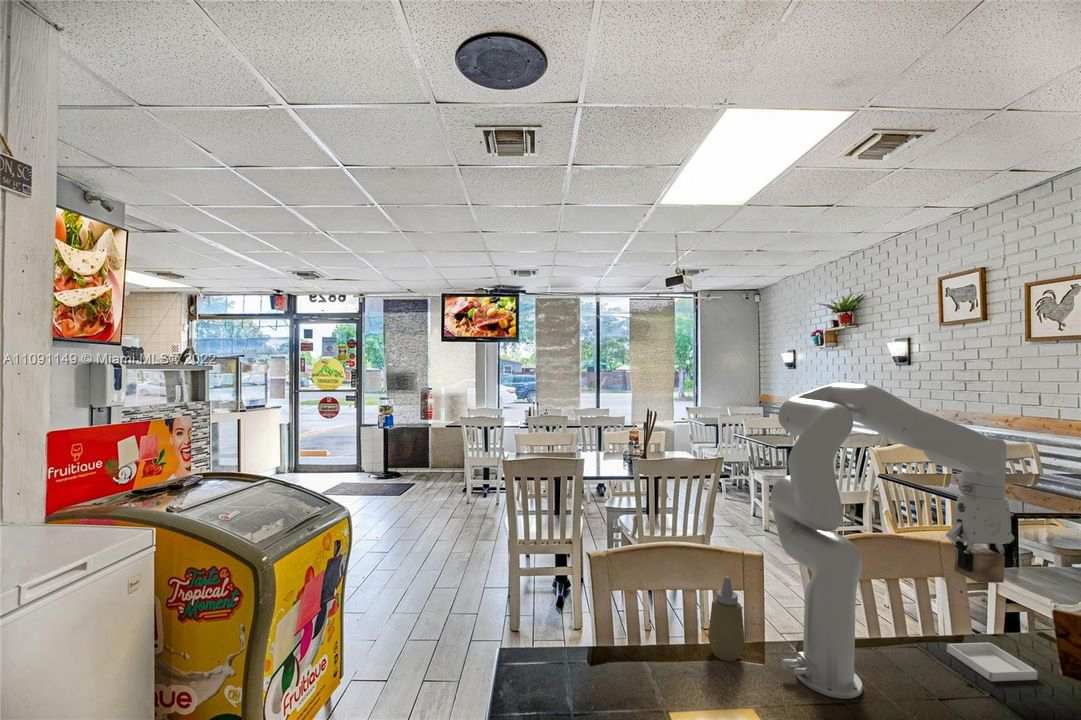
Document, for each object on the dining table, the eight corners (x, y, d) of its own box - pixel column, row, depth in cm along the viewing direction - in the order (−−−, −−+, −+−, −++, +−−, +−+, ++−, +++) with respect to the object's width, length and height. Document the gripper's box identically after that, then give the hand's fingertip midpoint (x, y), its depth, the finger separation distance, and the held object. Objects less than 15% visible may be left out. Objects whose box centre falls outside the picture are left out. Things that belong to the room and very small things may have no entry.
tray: (990, 683, 109) (991, 672, 109) (946, 653, 120) (947, 643, 120) (1037, 681, 110) (1037, 671, 110) (989, 651, 120) (989, 642, 120)
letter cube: (978, 582, 113) (979, 555, 113) (954, 570, 119) (955, 545, 119) (1003, 582, 113) (1004, 555, 113) (978, 571, 119) (979, 545, 119)
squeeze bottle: (738, 670, 112) (740, 589, 112) (702, 656, 117) (703, 578, 117) (748, 653, 119) (750, 576, 118) (714, 640, 123) (715, 567, 123)
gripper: (960, 494, 111) (957, 576, 112) (1034, 496, 113) (1031, 576, 113) (932, 485, 119) (929, 562, 119) (1002, 487, 120) (998, 562, 120)
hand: (978, 568), depth 116 cm, fingers closed on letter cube, 6 cm apart
